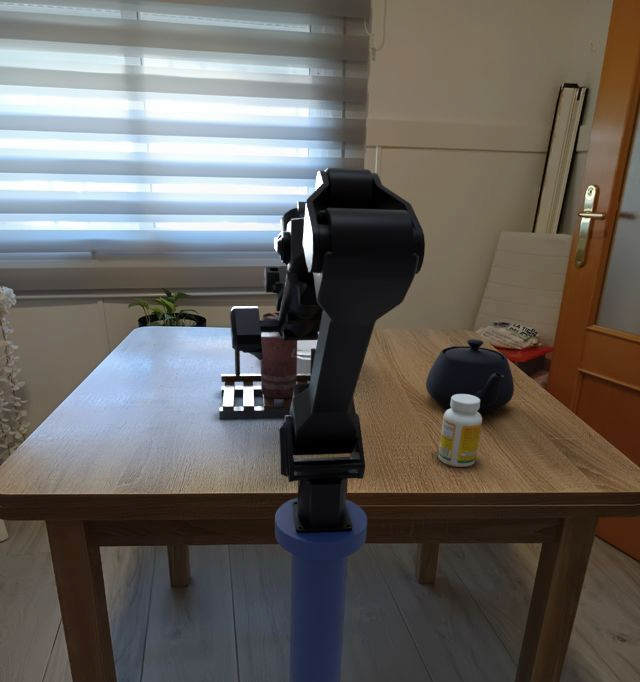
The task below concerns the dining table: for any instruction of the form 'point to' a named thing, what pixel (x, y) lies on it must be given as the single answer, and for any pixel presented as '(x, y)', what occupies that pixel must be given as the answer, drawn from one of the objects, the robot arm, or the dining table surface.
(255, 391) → the dish rack
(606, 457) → the dining table surface
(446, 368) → the teapot
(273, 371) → the can
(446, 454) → the supplement bottle
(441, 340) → the dining table surface
